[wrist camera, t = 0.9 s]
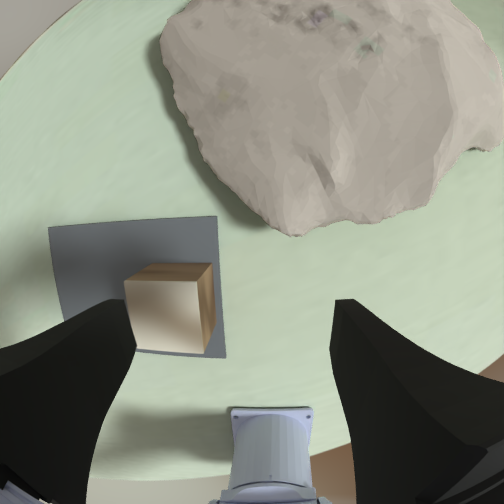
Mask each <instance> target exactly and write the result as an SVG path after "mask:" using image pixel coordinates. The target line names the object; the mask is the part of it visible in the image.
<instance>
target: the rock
mask: <svg viewBox="0 0 504 504" xmlns="http://www.w3.org/2000/svg"><path fill="white" fill-rule="evenodd" d="M159 43H160V46H161V49H160V51H161V54H162V59H163V65H164V66H165V67H166V68H167V69H168V71H169V73H170V75H171V77H172V80H173V83H174V84H173V89H174V91H175V93H174V95H173V97H174V98H175V101H176V104H177V107H178V109H179V110H180V111H181V113H182V114H183V115H184V117H185V118H186V121H187V123H188V125H189V127H190V128H192V129H193V131H194V132H193V134H194V136H195V138H196V140H197V142H198V148H199V151H200V153H201V154H202V157H203V160H204V162H206V163H208V165H209V166H210V167H211V169H212V171H213V172H214V173H215V174H216V175H217V178H218V179H219V180H220V181H221V182H223V183H224V184H225V185H227V186H228V187H230V189H231V190H232V191H233V192H235V193H236V194H237V195H238V197H239V198H240V199H241V200H242V201H243V202H244V203H245V204H246V205H247V206H248V207H249V208H250V209H251V210H252V211H254V212H255V213H256V214H258V215H260V216H261V217H262V218H263V219H264V221H265V222H266V223H267V224H268V225H269V226H270V227H272V228H273V229H276V230H278V231H280V232H282V233H284V234H286V235H288V236H290V237H291V236H295V237H298V236H301V237H302V236H303V235H305V234H307V233H308V232H309V231H310V230H312V229H314V228H317V227H326V226H328V225H330V224H332V223H335V222H339V221H344V220H350V221H352V222H354V223H356V224H376V223H380V222H381V221H382V219H387V218H388V217H394V216H395V215H396V213H401V212H403V211H405V210H415V209H417V208H419V207H422V206H426V205H427V204H428V203H429V201H430V200H431V199H432V197H433V195H434V193H435V191H436V188H437V186H438V183H439V182H440V180H441V179H442V178H443V176H444V175H445V174H446V173H447V172H448V171H449V170H450V169H451V168H452V167H453V166H454V165H455V163H456V161H457V160H458V158H459V156H460V154H461V153H462V152H464V151H465V150H468V149H470V148H473V147H476V148H477V149H478V150H480V151H481V150H482V151H483V152H484V151H488V152H490V151H492V149H493V148H495V147H497V146H499V144H500V143H501V142H502V140H503V138H504V81H503V75H502V71H501V68H500V65H499V62H498V60H497V57H496V55H495V54H494V52H493V51H492V49H491V48H490V47H489V46H488V45H487V44H486V43H485V42H484V39H483V36H482V33H481V31H480V29H479V28H478V26H476V25H475V24H474V23H473V22H472V21H470V20H469V19H468V18H467V17H466V16H465V15H464V14H463V13H462V12H461V11H460V10H459V9H458V8H457V7H456V6H454V5H453V4H452V3H451V1H450V0H192V1H191V2H190V3H189V4H188V5H187V6H186V7H185V9H184V10H183V11H182V12H180V13H178V14H176V15H173V16H171V17H170V18H169V19H167V24H166V26H165V28H164V29H163V31H162V34H161V37H160V41H159Z"/></svg>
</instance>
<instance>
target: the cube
mask: <svg viewBox="0 0 504 504" xmlns="http://www.w3.org/2000/svg"><path fill="white" fill-rule="evenodd" d="M124 287H125V293H126V299H127V305H128V311H129V316H130V322H131V327H132V330H133V333H134V337H135V340H136V343H137V348H138V349H147V350H157V351H168V352H180V353H195V354H204V352H205V349H206V347H207V344H208V342H209V340H210V337H211V335H212V332H213V330H214V328H215V325H216V323H217V320H216V308H215V295H214V281H213V266H212V263H152V264H150V265H149V266H147V267H145V268H144V269H142V270H141V271H139V272H137V273H136V274H134V275H133V276H131V277H130V278H128V279H126V280H125V281H124Z"/></svg>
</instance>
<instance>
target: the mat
mask: <svg viewBox="0 0 504 504" xmlns="http://www.w3.org/2000/svg"><path fill="white" fill-rule="evenodd" d="M48 233H49V242H50V249H51V257H52V263H53V269H54V275H55V281H56V286H57V291H58V296H59V301H60V305H61V309H62V313H63V318H64V321H66V320H68V319H70V318H72V317H73V316H75V315H77V314H79V313H81V312H83V311H85V310H87V309H89V308H90V307H92V306H94V305H96V304H99V303H101V302H103V301H106V300H108V299H122V300H124V301H125V305H126V309H127V312H128V316H129V311H128V305H127V299H126V293H125V287H124V281H125V280H126V279H128V278H130V277H131V276H133V275H134V274H136V273H137V272H139V271H141V270H142V269H144V268H145V267H147V266H149V265H150V264H152V263H212V266H213V281H214V295H215V308H216V320H217V323H216V325H215V328H214V330H213V332H212V335H211V337H210V340H209V342H208V344H207V347H206V349H205V352H204V354H195V353H180V352H168V351H157V350H147V349H138V348H136V351H135V352H143V353H153V354H163V355H174V356H187V357H203V358H226V348H225V336H224V323H223V309H222V295H221V280H220V263H219V245H218V225H217V216H206V217H184V218H165V219H147V220H132V221H118V222H104V223H92V224H80V225H69V226H58V227H49V228H48ZM129 320H130V316H129ZM130 323H131V322H130Z"/></svg>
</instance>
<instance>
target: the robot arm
mask: <svg viewBox="0 0 504 504" xmlns="http://www.w3.org/2000/svg"><path fill="white" fill-rule="evenodd" d="M136 348H137V343H136V340H135V337H134V333H133V330H132V327H131V323H130V320H129V316H128V312H127V309H126V305H125V301H124V300H122V299H108V300H106V301H103V302H101V303H99V304H96V305H94V306H92V307H90V308H89V309H87V310H85V311H83V312H81V313H79V314H77V315H75V316H73V317H72V318H70V319H68V320H66V321H64V322H62V323H60V324H58V325H56V326H54V327H52V328H50V329H48V330H46V331H44V332H42V333H40V334H38V335H36V336H34V337H32V338H29V339H27V340H24V341H22V342H19V343H17V344H14V345H11V346H8V347H4V348H1V349H0V504H44V503H42V502H40V501H39V498H40V499H42V500H43V501H45V502H47V503H52V504H86V494H87V484H88V478H89V472H90V467H91V462H92V458H93V454H94V450H95V446H96V442H97V439H98V436H99V433H100V430H101V427H102V424H103V421H104V419H105V416H106V414H107V412H108V410H109V408H110V406H111V404H112V402H113V400H114V398H115V396H116V394H117V392H118V390H119V388H120V386H121V384H122V382H123V380H124V378H125V376H126V374H127V372H128V370H129V368H130V365H131V363H132V360H133V357H134V354H135V351H136ZM329 350H330V357H331V364H332V370H333V375H334V379H335V382H336V386H337V389H338V393H339V396H340V399H341V403H342V406H343V410H344V414H345V417H346V421H347V424H348V428H349V433H350V438H351V444H352V452H353V460H354V471H355V482H356V501H357V504H504V383H503V382H499V381H496V380H492V379H489V378H486V377H483V376H480V375H477V374H474V373H472V372H469V371H467V370H465V369H462V368H460V367H457V366H455V365H453V364H451V363H449V362H447V361H445V360H443V359H441V358H439V357H437V356H435V355H433V354H431V353H430V352H428V351H426V350H424V349H423V348H421V347H419V346H418V345H416V344H415V343H413V342H412V341H410V340H409V339H407V338H406V337H404V336H403V335H401V334H400V333H398V332H397V331H396V330H394V329H393V328H391V327H390V326H389V325H387V324H386V323H385V322H383V321H382V320H381V319H379V318H378V317H377V316H376V315H374V314H373V313H372V312H370V311H369V310H368V309H367V308H365V307H364V306H363V305H361V304H360V303H359V302H357V301H356V300H354V299H342V300H335V309H334V317H333V325H332V333H331V341H330V348H329ZM307 415H310V416H307ZM313 415H314V411H313V409H312V408H287V409H248V408H233V409H232V410H231V422H232V431H233V439H234V447H235V449H234V455H233V461H232V467H231V473H230V480H229V486H228V490H222V492H221V497H220V500H212V501H210V502H209V503H208V504H332V502H330V501H329V500H327V499H326V498H325V497H319V498H317V501H316V490H315V488H314V487H313V488H312V478H311V468H310V458H309V443H310V436H311V429H312V422H313ZM236 416H237V417H236Z"/></svg>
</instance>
